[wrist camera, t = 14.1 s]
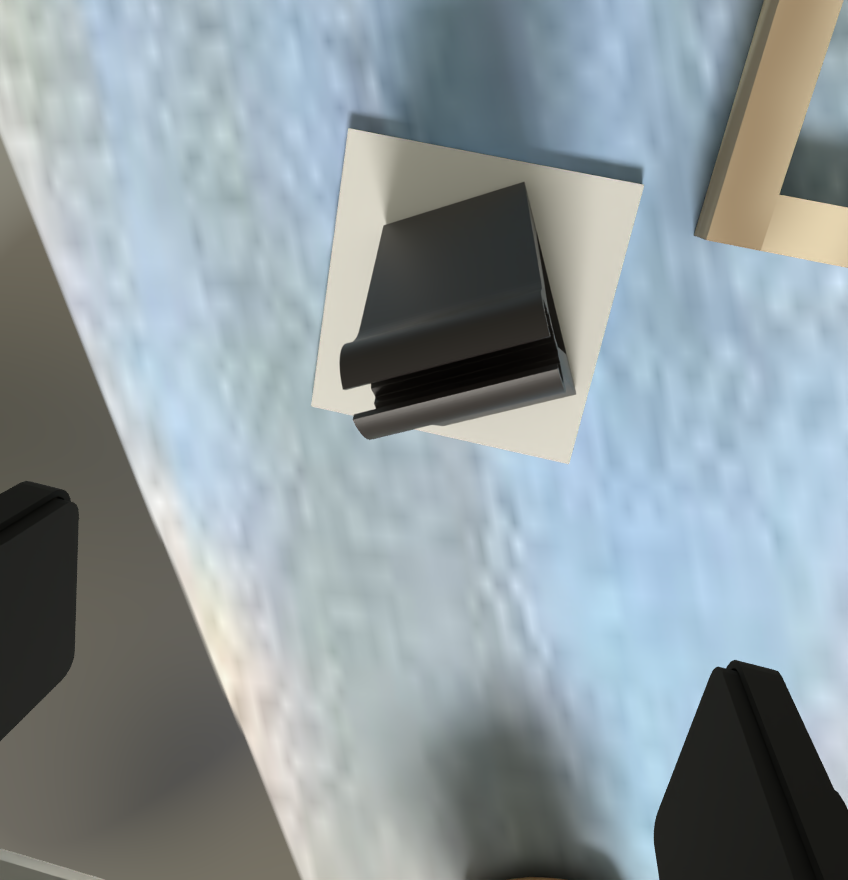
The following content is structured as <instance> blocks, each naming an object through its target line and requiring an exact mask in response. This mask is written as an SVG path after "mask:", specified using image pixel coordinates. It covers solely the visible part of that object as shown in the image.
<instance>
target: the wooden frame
mask: <svg viewBox="0 0 848 880" xmlns="http://www.w3.org/2000/svg"><path fill="white" fill-rule="evenodd" d="M842 3H843V0H764V2H763V5H762V9H761V12H760V15H759V19H758V22H757V26H756V29H755V32H754V36H753V39H752V42H751V46H750V49H749V52H748V56H747V59H746V62H745V66H744V69H743V72H742V76H741V79H740V83H739V86H738V89H737V93H736V96H735V99H734V103H733V106H732V109H731V113H730V116H729V119H728V123H727V126H726V129H725V133H724V136H723V140H722V143H721V146H720V150H719V153H718V156H717V160H716V163H715V166H714V170H713V173H712V176H711V180H710V183H709V186H708V190H707V193H706V197H705V200H704V203H703V207H702V210H701V213H700V217H699V220H698V223H697V227H696V230H695V233H694V236H697V237H700V238H702V239H705V240H709V241H714V242H719V243H724V244H729V245H734V246H739V247H745V248H750V249H755V250H760V251H765V252H770V253H775V254H780V255H785V256H790V257H796V258H801V259H806V260H811V261H816V262H821V263H826V264H831V265H836V266H841V267H846V268H848V208H847V207H842V206H837V205H831V204H826V203H821V202H816V201H810V200H805V199H800V198H794V197H789V196H784V195H779V194H780V191H781V188H782V185H783V181H784V178H785V175H786V172H787V169H788V166H789V163H790V160H791V157H792V154H793V151H794V148H795V145H796V142H797V139H798V136H799V133H800V130H801V127H802V124H803V121H804V118H805V115H806V112H807V109H808V106H809V103H810V100H811V97H812V94H813V91H814V88H815V85H816V82H817V79H818V76H819V73H820V70H821V67H822V64H823V61H824V58H825V55H826V52H827V49H828V46H829V43H830V40H831V37H832V33H833V30H834V27H835V24H836V21H837V18H838V15H839V12H840V9H841V6H842Z"/></svg>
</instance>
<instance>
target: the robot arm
mask: <svg viewBox="0 0 848 880" xmlns="http://www.w3.org/2000/svg"><path fill="white" fill-rule="evenodd" d="M78 520H79V514H78V507H77V505H76V504H75V503H73V502H71V501H70V497H69V494H68V493H67V492H66V491H64V490H62V489H58V488H54V487H50V486H46V485H42V484H38V483H34V482H29V481H25V482H22V483H19V484H18V485H16V486H14V487H12V488H10V489H9V490H7V491H5V492H3V493H1V494H0V741H1V740H2V739H3V738H4V737H5V736H6V735H7V734H8V733H9V732H10V731H11V730H12V729H13V728H14V727H15V726H16V725H17V724H18V723H19V722H20V721H21V720H22V719H23V718H24V717H25V716H26V715H27V714H28V713H29V712H30V711H31V710H32V709H33V708H34V707H35V706H36V705H37V704H38V703H39V702H40V701H41V700H42V699H43V698H44V697H45V696H46V695H47V694H48V693H49V692H50V691H51V690H52V689H53V688H54V687H55V686H56V685H57V684H58V683H59V682H60V681H61V680H62V679H63V678H64V677H65V676H66V674H67V672H68V671H69V669H70V667H71V664H72V662H73V658H74V651H75V621H76V586H77V585H76V584H77V552H78ZM654 846H655V853H656V860H657V866H658V873H659V880H848V809H847V807H846V805H845V803H844V801H843V799H842V798H841V796H840V795H839V793H838V792H837V791H835V790H834V788H833V786H832V784H831V781H830V779H829V777H828V775H827V773H826V771H825V768H824V766H823V764H822V762H821V760H820V758H819V756H818V753H817V751H816V749H815V747H814V745H813V743H812V740H811V738H810V736H809V734H808V732H807V730H806V728H805V725H804V723H803V721H802V719H801V717H800V715H799V712H798V710H797V708H796V706H795V704H794V702H793V699H792V697H791V695H790V693H789V691H788V689H787V687H786V684H785V682H784V680H783V678H782V676H781V675H780V673H779V672H778V671H776V670H773V669H769V668H765V667H761V666H757V665H753V664H749V663H745V662H741V661H737V660H734V661H731V662H730V664H729V665H728V666H727V668H726V669H725V668H721V667H716V668H715V669H714V670H713V671H712V673H711V675H710V678H709V680H708V683H707V685H706V688H705V691H704V693H703V696H702V698H701V701H700V704H699V706H698V709H697V711H696V714H695V717H694V719H693V722H692V724H691V727H690V730H689V732H688V735H687V737H686V740H685V743H684V745H683V748H682V750H681V753H680V756H679V758H678V761H677V763H676V766H675V769H674V771H673V774H672V776H671V779H670V782H669V784H668V787H667V789H666V792H665V795H664V797H663V800H662V802H661V805H660V808H659V810H658V813H657V816H656V820H655V826H654ZM0 880H104V879H101V878H98V877H94V876H91V875H88V874H84V873H81V872H78V871H75V870H71V869H68V868H65V867H61V866H58V865H55V864H51V863H48V862H44V861H41V860H38V859H34V858H31V857H28V856H24V855H20V854H18V853H14V852H11V851H7V850H4V849H1V848H0Z"/></svg>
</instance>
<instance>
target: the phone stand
mask: <svg viewBox="0 0 848 880" xmlns="http://www.w3.org/2000/svg"><path fill="white" fill-rule="evenodd" d="M339 365H340V377H341V383H342V388H343V390H348V389H352V388H356V387H360V386H364V385H367V384H371V390H372V392H373V394H374V395H375V401H374V405H375V408H376V409H373V410H369V411H365V412H361V413H357V414H354V417H353V421H354V423H355V425H356V427H357V428H358V430H359V431H360V433H361V434H362V435H363V436H364V437H365V438H366V439H369V440H371V439H376V438H380V437H384V436H388V435H392V434H396V433H400V432H405V431H409V430H413V429H417V428H421V427H425V426H430V425H437V426H447V425H451V424H455V423H459V422H463V421H467V420H472V419H476V418H480V417H484V416H488V415H492V414H497V413H501V412H505V411H509V410H513V409H518V408H522V407H526V406H530V405H534V404H538V403H543V402H547V401H551V400H555V399H559V398H564V397H568V396H572V395H576V390H575V386H574V382H573V378H572V374H571V369H570V365H569V361H568V357H567V353H566V349H565V345H564V341H563V337H562V333H561V328H560V324H559V320H558V316H557V312H556V308H555V304H554V300H553V296H552V292H551V288H550V283H549V279H548V275H547V271H546V267H545V263H544V259H543V255H542V251H541V247H540V242H539V238H538V234H537V230H536V226H535V222H534V218H533V214H532V210H531V206H530V201H529V197H528V193H527V189H526V185H525V182H521V183H518V184H515V185H512V186H508V187H505V188H502V189H499V190H496V191H492V192H489V193H486V194H483V195H479V196H476V197H473V198H470V199H467V200H463V201H460V202H457V203H454V204H450V205H447V206H444V207H441V208H438V209H434V210H431V211H428V212H425V213H421V214H418V215H415V216H412V217H409V218H405V219H402V220H399V221H396V222H393V223H389V224H386V225H383V229H382V234H381V238H380V242H379V247H378V251H377V255H376V260H375V264H374V268H373V273H372V277H371V281H370V286H369V290H368V294H367V299H366V303H365V307H364V312H363V316H362V320H361V325H360V329H359V333H358V335H357V337H356V339H355V340H354V341H353V342H349V343H346V344H344V345H343V346H342V349H341V352H340V361H339Z"/></svg>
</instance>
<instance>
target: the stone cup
mask: <svg viewBox="0 0 848 880" xmlns="http://www.w3.org/2000/svg"><path fill="white" fill-rule="evenodd" d="M508 880H566V879H558V878H542V877H527V878H516V879H508Z"/></svg>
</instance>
